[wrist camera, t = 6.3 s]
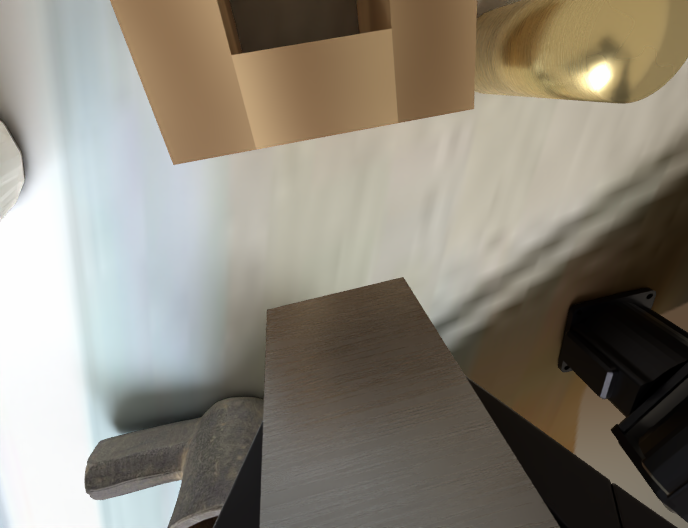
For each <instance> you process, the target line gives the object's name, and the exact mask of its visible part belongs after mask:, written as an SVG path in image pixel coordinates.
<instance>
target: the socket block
mask: <svg viewBox="0 0 688 528" xmlns="http://www.w3.org/2000/svg"><path fill="white" fill-rule="evenodd" d="M110 1H111V4H112V7H113V9H114V12H115V14H116V17H117V20H118V22H119V25H120V27H121V30H122V33H123V35H124V38H125V40H126V43H127V45H128V48H129V51H130V53H131V56H132V58H133V61H134V64H135V66H136V69H137V71H138V74H139V77H140V79H141V82H142V84H143V87H144V90H145V92H146V95H147V97H148V100H149V103H150V105H151V108H152V110H153V113H154V116H155V118H156V121H157V123H158V126H159V128H160V131H161V134H162V136H163V139H164V141H165V144H166V147H167V149H168V152H169V154H170V157H171V160H172V162H173V165H175V164H181V163H186V162H192V161H197V160H202V159H208V158H213V157H218V156H224V155H229V154H234V153H240V152H245V151H251V150H256V149H261V148H267V147H272V146H277V145H283V144H288V143H293V142H299V141H304V140H309V139H315V138H320V137H326V136H331V135H336V134H342V133H347V132H352V131H358V130H363V129H368V128H374V127H379V126H385V125H390V124H395V123H401V122H406V121H411V120H417V119H422V118H427V117H433V116H438V115H444V114H449V113H454V112H460V111H465V110H470V109H474V88H475V54H476V21H477V0H356V5H357V14H358V23H359V33H360V34H356V35H350V36H344V37H338V38H332V39H326V40H320V41H314V42H308V43H302V44H296V45H290V46H284V47H278V48H272V49H266V50H260V51H254V52H248V53H243V52H242V48H241V44H240V40H239V36H238V32H237V28H236V24H235V20H234V16H233V12H232V8H231V4H230V0H110Z"/></svg>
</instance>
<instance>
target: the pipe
mask: <svg viewBox="0 0 688 528" xmlns="http://www.w3.org/2000/svg"><path fill="white" fill-rule="evenodd" d="M263 414H264V400H263V399H260V398H256V397H232V398H227V399H224V400H221V401H218V402H216V403H215V404H214V405H213V406H212V407H210V408H209V409H208V410H207V411H206V413H205V414H204V415H203V416H202V417H201V418H195V419H190V420H184V421H179V422H175V423H170V424H165V425H161V426H156V427H152V428H148V429H143V430H139V431H135V432H131V433H127V434H123V435H120V436H115V437H111V438H108V439H104V440H102V441H100V442H99V443H98V445H97V446H96V447H95V449H94V450H93V452H92V454H91V455H90V457H89V458H88V461H87V466H86V471H85V489H86V493H88V494H89V495H90V497H91V498H93V499H95V500H104V499H108V498H112V497H116V496H120V495H124V494H128V493H132V492H135V491H139V490H142V489H146V488H149V487H153V486H157V485H160V484H164V483H168V482H173V481H178V480H182V483H181V488H180V491H179V495H178V498H177V502H176V505H175V508H174V511H173V514H172V517H171V520H170V522H169V525H168V528H213V526H214V524H215V522H216V520H217V518H218V516H219V513H220V511H221V509H222V507H223V505H224V503H225V500H226V498H227V496H228V494H229V492H230V490H231V487H232V485H233V483H234V481H235V479H236V477H237V475H238V472H239V470H240V468H241V466H242V464H243V462H244V459H245V457H246V455H247V453H248V451H249V449H250V446H251V444H252V442H253V440H254V438H255V436H256V433H257V431H258V429H259V427H260V425H261V423H262V421H263Z"/></svg>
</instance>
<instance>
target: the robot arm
mask: <svg viewBox="0 0 688 528" xmlns="http://www.w3.org/2000/svg"><path fill="white" fill-rule="evenodd" d="M655 296H656V291H654V290H652V289H651V288H644V289H639V290H635V291H631V292H626V293H622V294H618V295H613V296H609V297H605V298H601V299H596V300H592V301H588V302H583V303H579V304H576V305H573V306H572V307H571V308H570V310H569V314H568V319H567V324H566V328H565V333H564V338H563V343H562V348H561V353H560V357H559V362H558V368H559V369H560V370H561V371H562V372H569V371H574V372H575V373H576V374H577V375H578V376H579V377H580V378H581V379H582V380H583V381H584V382H585V383H586V384H587V385H588V386H589V387H590V388H591V389H592V390H593V391H594V392H595V393H596V394H597V395H598V396H599V397H600V398H602V399H608V400H609V401H611V403H612V404H613V405H614V406H615V407H616V408H617V409H619V411H620V412H621V413H623V415H625V416H626V418H625V419H624V420H623V421H622V422H621V423H620V424H619V425H618V424H616V425H615V426H614V427H613V428H612V429H611V431H612V433H613V434H614V436H615V437H616V438H617V440H618V442H619V444H620V445H621V447H622V448H623V450H624V451H625V452H626V454H627V455H628V457H629V458H630V459H631V461H632V462H633V464H634V465H635V466H636V468H637V469H638V471H639V472H640V473H641V475H642V476H643V478H644V479H645V480H646V482H647V483H648V485H649V486H650V487H651V489H652V490H653V492H654V493H655V494H656V496H657V497H658V498H659V499H660V500H661V501H662V503H663V505H664V506H665V507H666V508H667V509H668V510H669V511H671V512H672V513H676V514H678V515H679V516H680V517H681V518H683V519H684V520H685V521H686V522H688V332H686V331H685V330H683V329H681V328H680V327H678V326H676V325H675V324H673V323H672V322H670V321H669V320H667V319H665V318H664V317H662V316H661V315H659V314H658V313H656V312H654V311H653V310H651V308H652V305H653V302H654V299H655ZM465 377H466V376H465ZM466 378H467V380H468V381H469V383H470V385H471V386H472V388H473V389H474V391H475V393H476V394H477V396H478V397H479V399H480V401H481V402H482V404H483V405H484V407H485V409H486V410H487V412H488V413H489V415H490V417H491V418H492V420H493V421H494V423H495V425H496V426H497V428H498V429H499V431H500V432H501V434H502V436H503V437H504V439H505V440H506V442H507V444H508V445H509V447H510V448H511V450H512V452H513V453H514V455H515V456H516V458H517V460H518V461H519V463H520V464H521V466H522V468H523V469H524V471H525V472H526V474H527V476H528V477H529V479H530V480H531V482H532V484H533V485H534V487H535V488H536V490H537V492H538V493H539V495H540V496H541V498H542V500H543V501H544V503H545V504H546V506H547V508H548V509H549V511H550V512H551V514H552V516H553V517H554V519H555V520H556V522H557V524H558V525H559V527H560V528H677V527H676V526H674V525H673V524H671V523H670V522H669V521H667V520H666V519H664V518H663V517H661V516H660V515H658V514H657V513H656V512H654V511H653V510H651V509H650V508H648V507H647V506H646V505H644V504H643V503H641V502H640V501H638V500H637V499H636V498H634V497H632V496H631V495H630V494H629V493H627V492H626V491H624V490H623V489H622V488H620V487H619V486H618V485H616V484H614V483H612V484H611V482H610V480H609V479H608V478H606V477H605V476H603V475H602V474H601V473H599V472H598V471H596V470H595V469H594V468H592V467H591V466H590V465H588V464H587V463H585V462H584V461H582V460H581V459H580V458H578V457H577V456H576V455H574V454H573V453H572V452H570V451H569V450H567V449H566V448H565V447H563V446H562V445H561V444H559V443H558V442H556V441H555V440H554V439H552V438H551V437H549V436H548V435H547V434H545V433H544V432H543V431H541V430H540V429H538V428H537V427H536V426H534V425H533V424H531V423H530V422H529V421H527V420H526V419H525V418H523V417H522V416H520V415H519V414H518V413H516V412H515V411H513V410H512V409H511V408H509V407H508V406H507V405H505V404H504V403H502V402H501V401H500V400H498V399H497V398H495V397H494V396H493V395H491V394H490V393H489V392H487V391H486V390H484V389H483V388H482V387H480V386H479V385H477V384H476V383H475V382H473V381H472V380H471V379H469V378H468V377H466ZM262 443H263V421H262V423H261V425H260V427H259V429H258V431H257V433H256V436H255V438H254V440H253V442H252V444H251V446H250V449H249V451H248V453H247V455H246V457H245V459H244V462H243V464H242V466H241V468H240V470H239V472H238V475H237V477H236V479H235V481H234V483H233V485H232V487H231V490H230V492H229V494H228V496H227V498H226V500H225V503H224V505H223V507H222V509H221V511H220V513H219V516H218V518H217V520H216V522H215V524H214V526H213V528H260V502H261V472H262Z"/></svg>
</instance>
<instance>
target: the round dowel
mask: <svg viewBox="0 0 688 528" xmlns="http://www.w3.org/2000/svg"><path fill="white" fill-rule="evenodd" d="M687 57H688V0H521V1H518V2H515V3H512V4H509V5H506V6H503V7H500V8H497V9H494V10H491V11H488V12H486V13H484V14H483V15H481V16H480V17H479V18H477V21H476V54H475V88H474V90H475V91H476V92H479V93H483V94H496V95H510V96H524V97H538V98H552V99H566V100H580V101H594V102H608V103H632V102H635V101H639V100H641V99H643V98H646V97H648V96H649V95H651V94H653V93H654V92H656V91H657V90H659V89H660V88H661V87H662V86H664V85H665V84H666V83H667V82H668V81H669V80H670V79H671V78H672V77H673V76H674V75H675V74H676V73H677V71H678V70H679V69H680V68H681V66H682V65H683V63H684V62H685V61H686V59H687Z"/></svg>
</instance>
